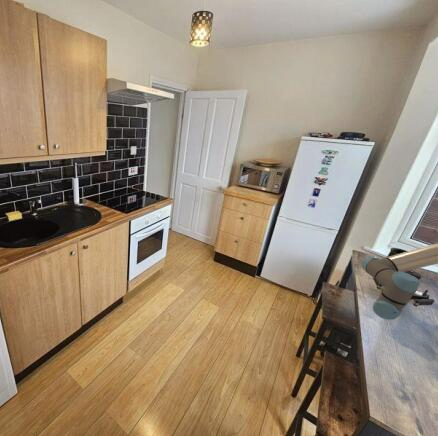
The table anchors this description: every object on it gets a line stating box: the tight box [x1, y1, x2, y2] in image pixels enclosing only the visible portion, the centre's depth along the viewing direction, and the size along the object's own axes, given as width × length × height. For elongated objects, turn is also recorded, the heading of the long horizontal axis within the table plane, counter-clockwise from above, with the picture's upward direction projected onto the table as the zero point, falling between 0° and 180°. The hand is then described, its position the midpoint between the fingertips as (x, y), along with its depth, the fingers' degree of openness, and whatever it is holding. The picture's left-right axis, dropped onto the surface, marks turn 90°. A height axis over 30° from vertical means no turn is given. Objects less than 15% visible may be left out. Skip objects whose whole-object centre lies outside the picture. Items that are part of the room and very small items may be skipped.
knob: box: [405, 270, 423, 281], centre depth 116 cm, size 6×6×10 cm
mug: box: [386, 247, 408, 257], centre depth 139 cm, size 11×15×12 cm
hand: (405, 283), depth 112 cm, fingers open, 13 cm apart
